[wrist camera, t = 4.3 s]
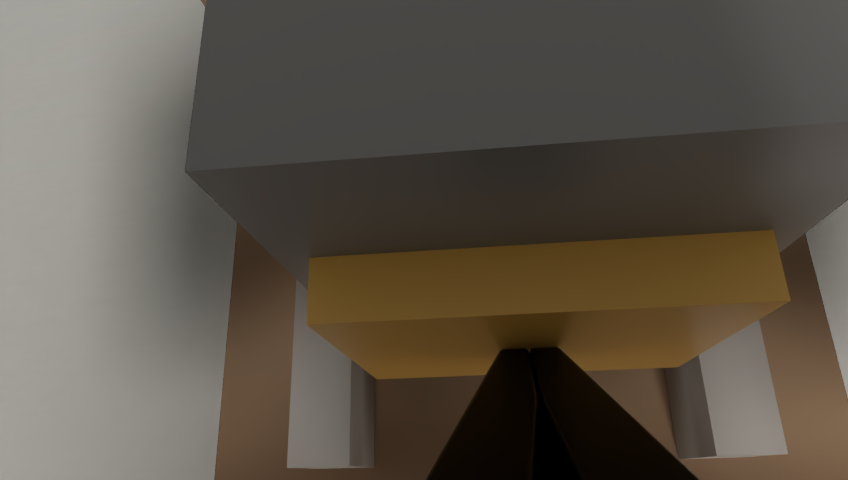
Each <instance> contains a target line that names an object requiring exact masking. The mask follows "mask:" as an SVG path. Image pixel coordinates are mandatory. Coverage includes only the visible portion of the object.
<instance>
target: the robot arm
mask: <svg viewBox="0 0 848 480" xmlns="http://www.w3.org/2000/svg"><path fill="white" fill-rule="evenodd" d="M425 480H700V479H699V478H697V477H696V476H695V475H694V474H693V473H692V472H691V471H690V470H689V469H688V468H687V467H686V466H685V465H684V464H683V463H681V462H680V461H679V460H678V459H677V458H676V457H675V456H674V455H673V454H672V453H671V452H670V451H669V450H668V449H667V448H666V447H664V446H663V445H662V444H661V443H660V442H659V441H658V440H657V439H656V438H655V437H654V436H653V435H652V434H651V433H650V432H649V431H647V430H646V429H645V428H644V427H643V426H642V425H641V424H640V423H639V422H638V421H637V420H636V419H635V418H634V417H633V416H631V415H630V414H629V413H628V412H627V411H626V410H625V409H624V408H623V407H622V406H621V405H620V404H619V403H618V402H617V401H616V400H614V399H613V398H612V397H611V396H610V395H609V394H608V393H607V392H606V391H605V390H604V389H603V388H602V387H601V386H600V385H599V384H597V383H596V382H595V381H594V380H593V379H592V378H591V377H590V376H589V375H588V374H587V373H586V372H585V371H584V370H583V369H581V368H580V367H579V366H578V365H577V364H576V363H575V362H574V361H573V360H572V359H571V358H570V357H569V356H568V355H567V354H566V353H564V352H563V351H562V350H561V349H560V348H558V347H545V348H533V349H531V351H530V353H529V351H528V350H527V349H525V348H522V349H503V350H500V351H499V353H498V354H497V356H496V358H495V360H494V361H493V363H492V365H491V366H490V368H489V370H488V372H487V373H486V375H485V377H484V379H483V380H482V382H481V384H480V385H479V387H478V389H477V391H476V392H475V394H474V396H473V397H472V399H471V401H470V403H469V404H468V406H467V408H466V410H465V411H464V413H463V415H462V416H461V418H460V420H459V422H458V423H457V425H456V427H455V429H454V430H453V432H452V434H451V435H450V437H449V439H448V441H447V442H446V444H445V446H444V448H443V449H442V451H441V453H440V454H439V456H438V458H437V460H436V461H435V463H434V465H433V467H432V468H431V470H430V472H429V473H428V475H427V477H426V479H425Z"/></svg>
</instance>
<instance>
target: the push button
mask: <svg viewBox="0 0 848 480" xmlns="http://www.w3.org/2000/svg"><path fill="white" fill-rule="evenodd" d="M185 172H186V173H187V174H188V175H189V176H190V177H191V178H192V179H193V180H194V181H195V182H196V183H197V184H198V185H199V186H200V187H201V188H203V189H204V190H205V191H206V192H207V193H208V194H209V195H210V196H211V197H212V198H213V199H214V200H215V201H216V202H217V203H218V204H219V205H220V206H221V207H222V208H223V209H224V210H225V211H226V212H227V213H228V214H229V215H230V216H232V217H233V218H234V219H235V220H236V221H237V222H238V223H239V224H240V225H241V226H242V227H243V228H244V229H245V230H246V231H247V232H248V233H249V234H250V235H251V236H252V237H253V238H254V239H255V240H256V241H257V242H258V243H260V244H261V245H262V246H263V247H264V248H265V249H266V250H267V251H268V252H269V253H270V254H271V255H272V256H273V257H274V258H275V259H276V260H277V261H278V262H279V263H280V264H281V265H282V266H283V267H284V268H285V269H286V270H287V271H289V272H290V273H291V274H292V275H293V276H294V277H295V278H296V279H297V280H298V281H299V282H300V283H301V284H302V285H303V286H304V287H305V288H306V289H307V290H308V300H307V323H306V325H307V326H309V327H310V328H311V329H313V330H314V331H315V332H316V333H318V334H319V335H320V336H322V337H323V338H324V339H325V340H327V341H328V342H329V343H331V344H332V345H333V346H334V347H336V348H337V349H338V350H340V351H341V352H342V353H343V354H345V355H346V356H347V357H349V358H350V359H351V360H352V361H354V362H355V363H356V364H358V365H359V366H360V367H361V368H363V369H364V370H365V371H367V372H368V373H369V374H370V375H372V376H373V377H374V378H376V379H377V380H378V379H402V378H427V377H452V376H476V375H486V373H487V372H488V370H489V368H490V366H491V365H492V363H493V361H494V360H495V358H496V356H497V354H498V353H499V351H500V350H503V349H522V348H525V349H527V350H528V351H529V353H530V351H531V349H533V348H545V347H558V348H560V349H561V350H562V351H563V352H564V353H566V354H567V355H568V356H569V357H570V358H571V359H572V360H573V361H574V362H575V363H576V364H577V365H578V366H579V367H580V368H581V369H583V370H584V371H600V370H624V369H649V368H674V367H679V366H681V365H682V364H684V363H686V362H688V361H689V360H691V359H693V358H694V357H696V356H698V355H699V354H701V353H703V352H705V351H706V350H708V349H710V348H711V347H713V346H715V345H716V344H718V343H720V342H721V341H723V340H725V339H727V338H728V337H730V336H732V335H733V334H735V333H737V332H738V331H740V330H742V329H744V328H745V327H747V326H749V325H750V324H752V323H754V322H755V321H757V320H759V319H761V318H762V317H764V316H766V315H767V314H769V313H771V312H772V311H774V310H776V309H778V308H779V307H781V306H783V305H784V304H786V303H788V302H789V301H791V300H790V296H789V292H788V288H787V283H786V279H785V275H784V271H783V267H782V263H781V258H780V254H779V253H780V252H781V251H783V250H784V249H785V248H787V247H788V246H789V245H790V244H792V243H793V242H794V241H796V240H797V239H798V238H799V237H801V236H802V235H803V234H804V233H806V232H807V231H808V230H810V229H811V228H812V227H813V226H815V225H816V224H817V223H819V222H820V221H821V220H822V219H824V218H825V217H826V216H828V215H829V214H830V213H831V212H833V211H834V210H835V209H836V208H838V207H839V206H840V205H842V204H843V203H844V202H845V201H847V200H848V0H206V7H205V15H204V23H203V31H202V39H201V47H200V55H199V63H198V71H197V79H196V87H195V95H194V103H193V111H192V119H191V127H190V135H189V143H188V151H187V159H186V167H185Z"/></svg>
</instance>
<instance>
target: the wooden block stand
mask: <svg viewBox="0 0 848 480" xmlns="http://www.w3.org/2000/svg"><path fill="white" fill-rule="evenodd" d="M201 1H202V3H203V5H204V6H205V7H206V0H201ZM779 254H780V258H781V263H782V267H783V271H784V275H785V279H786V283H787V288H788V292H789V296H790V300H791V301H789V302H788V303H786V304H784V305H783V306H781V307H779V308H778V309H776V310H774V311H772V312H771V313H769V314H767V315H766V316H764V317H762V318H761V319H759V320H757V321H755V322H754V323H752V324H750V325H749V326H747V327H745V328H744V329H742V330H740V331H738V332H737V333H735V334H733V335H732V336H730V337H728V338H727V339H725V340H723V341H721V342H720V343H718V344H716V345H715V346H713V347H711V348H710V349H708V350H706V351H705V352H703V353H701V354H699V355H698V356H696V357H694V358H693V359H691V360H689V361H688V362H686V363H684V364H682V365H681V366H679V367H674V368H649V369H624V370H600V371H585V372H586V373H587V374H588V375H589V376H590V377H591V378H592V379H593V380H594V381H595V382H596V383H597V384H599V385H600V386H601V387H602V388H603V389H604V390H605V391H606V392H607V393H608V394H609V395H610V396H611V397H612V398H613V399H614V400H616V401H617V402H618V403H619V404H620V405H621V406H622V407H623V408H624V409H625V410H626V411H627V412H628V413H629V414H630V415H631V416H633V417H634V418H635V419H636V420H637V421H638V422H639V423H640V424H641V425H642V426H643V427H644V428H645V429H646V430H647V431H649V432H650V433H651V434H652V435H653V436H654V437H655V438H656V439H657V440H658V441H659V442H660V443H661V444H662V445H663V446H664V447H666V448H667V449H668V450H669V451H670V452H671V453H672V454H673V455H674V456H675V457H676V458H677V459H678V460H679V461H680V462H681V463H683V464H684V465H685V466H686V467H687V468H688V469H689V470H690V471H691V472H692V473H693V474H694V475H695V476H696V477H697V478H699V479H700V480H848V398H847V394H846V390H845V386H844V382H843V379H842V375H841V371H840V367H839V363H838V359H837V355H836V352H835V348H834V344H833V340H832V336H831V332H830V328H829V324H828V321H827V317H826V313H825V309H824V305H823V301H822V297H821V293H820V290H819V286H818V282H817V278H816V274H815V270H814V266H813V262H812V259H811V255H810V251H809V247H808V243H807V239H806V235H805V233H804V234H803V235H802V236H801V237H799V238H798V239H797V240H796V241H794V242H793V243H792V244H790V245H789V246H788V247H787V248H785V249H784V250H783V251H781V252H780V253H779ZM307 300H308V290H307V289H306V288H305V287H304V286H303V285H302V284H301V283H300V282H299V281H298V280H297V279H296V278H295V277H294V276H293V275H292V274H291V273H290V272H289V271H287V270H286V269H285V268H284V267H283V266H282V265H281V264H280V263H279V262H278V261H277V260H276V259H275V258H274V257H273V256H272V255H271V254H270V253H269V252H268V251H267V250H266V249H265V248H264V247H263V246H262V245H261V244H260V243H258V242H257V241H256V240H255V239H254V238H253V237H252V236H251V235H250V234H249V233H248V232H247V231H246V230H245V229H244V228H243V227H242V226H241V225H240V224H239V223H238V222H237V232H236V243H235V254H234V266H233V277H232V288H231V299H230V311H229V322H228V333H227V344H226V356H225V367H224V378H223V389H222V401H221V412H220V423H219V434H218V446H217V457H216V468H215V479H214V480H425V479H426V477H427V475H428V473H429V472H430V470H431V468H432V467H433V465H434V463H435V461H436V460H437V458H438V456H439V454H440V453H441V451H442V449H443V448H444V446H445V444H446V442H447V441H448V439H449V437H450V435H451V434H452V432H453V430H454V429H455V427H456V425H457V423H458V422H459V420H460V418H461V416H462V415H463V413H464V411H465V410H466V408H467V406H468V404H469V403H470V401H471V399H472V397H473V396H474V394H475V392H476V391H477V389H478V387H479V385H480V384H481V382H482V380H483V379H484V377H485V375H476V376H452V377H427V378H402V379H378V380H377V379H376V378H374V377H373V376H372V375H370V374H369V373H368V372H367V371H365V370H364V369H363V368H361V367H360V366H359V365H358V364H356V363H355V362H354V361H352V360H351V359H350V358H349V357H347V356H346V355H345V354H343V353H342V352H341V351H340V350H338V349H337V348H336V347H334V346H333V345H332V344H331V343H329V342H328V341H327V340H325V339H324V338H323V337H322V336H320V335H319V334H318V333H316V332H315V331H314V330H313V329H311V328H310V327H309V326H307V325H306V323H307Z"/></svg>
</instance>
